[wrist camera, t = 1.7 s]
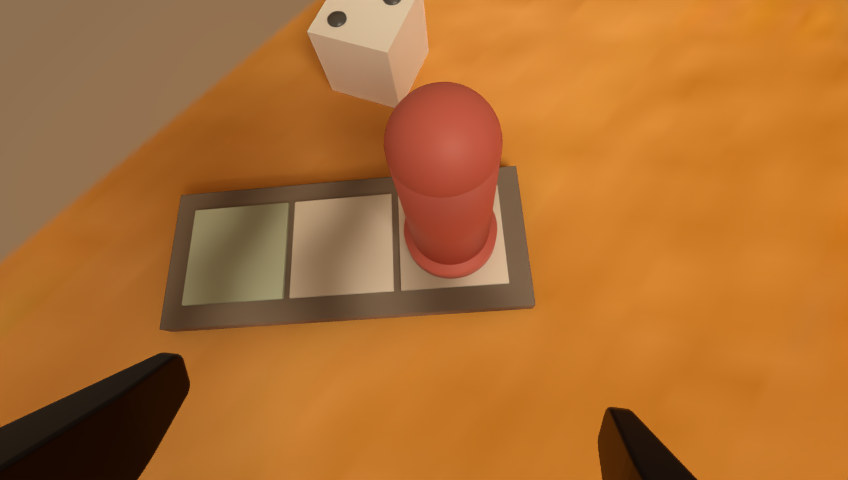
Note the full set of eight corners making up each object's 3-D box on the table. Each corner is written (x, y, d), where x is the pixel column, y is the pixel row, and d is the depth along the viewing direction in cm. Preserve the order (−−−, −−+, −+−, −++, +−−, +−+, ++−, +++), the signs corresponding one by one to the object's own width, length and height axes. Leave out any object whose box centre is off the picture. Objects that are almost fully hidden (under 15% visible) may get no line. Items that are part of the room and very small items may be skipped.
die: (428, 52, 29) (422, -16, 24) (400, 110, 27) (386, 51, 23) (363, 35, 30) (344, -33, 25) (332, 90, 28) (306, 30, 24)
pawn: (514, 230, 23) (555, 96, 12) (455, 297, 22) (447, 212, 11) (446, 179, 24) (433, 20, 14) (388, 240, 23) (327, 118, 13)
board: (514, 174, 25) (516, 164, 24) (532, 308, 22) (536, 304, 21) (191, 202, 26) (178, 193, 25) (171, 331, 24) (156, 328, 23)
